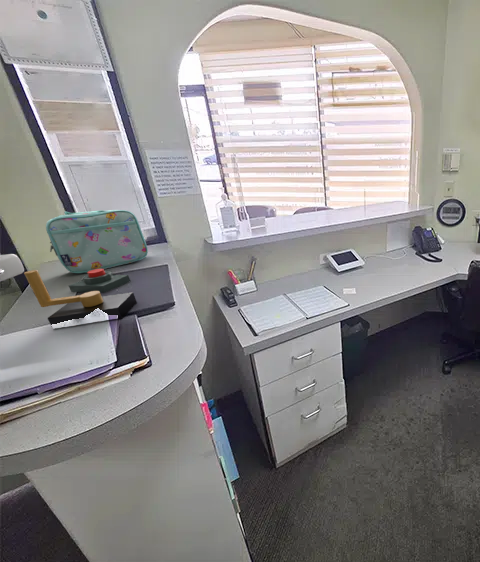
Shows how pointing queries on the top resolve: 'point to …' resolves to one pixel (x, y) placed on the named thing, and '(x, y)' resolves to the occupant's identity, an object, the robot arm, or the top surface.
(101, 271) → the red button
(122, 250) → the lunch box
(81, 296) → the crank handle
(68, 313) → the valve block
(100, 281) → the control box
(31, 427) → the top surface
